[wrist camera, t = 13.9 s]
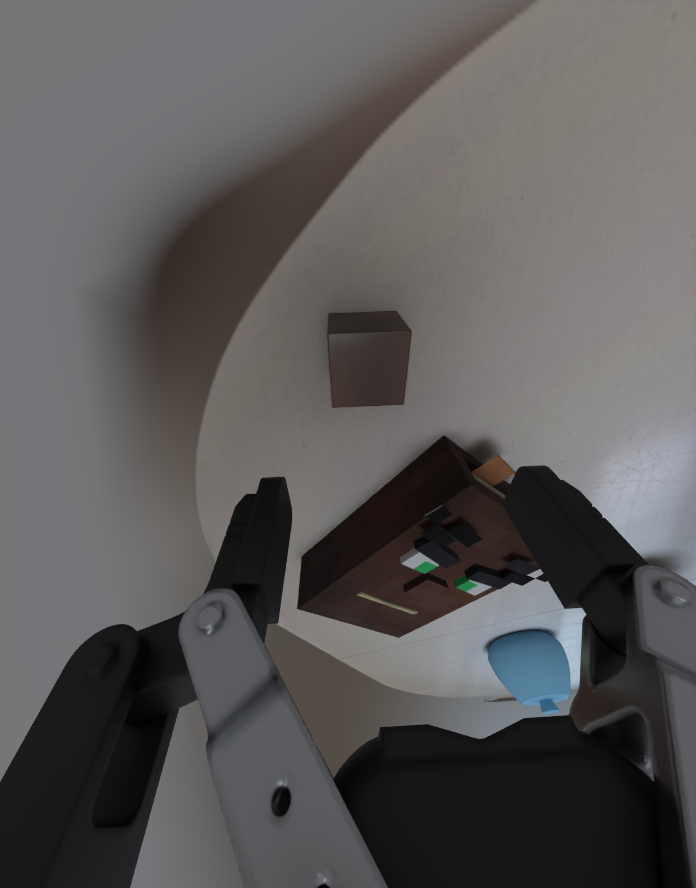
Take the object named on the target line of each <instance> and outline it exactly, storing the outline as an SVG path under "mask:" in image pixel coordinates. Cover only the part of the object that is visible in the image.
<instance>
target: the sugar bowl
mask: <svg viewBox="0 0 696 888" xmlns="http://www.w3.org/2000/svg"><path fill="white" fill-rule="evenodd" d="M488 660H489V663H490V665H491V667H492V669H493V671H494V672H495V674H496V676H497V677H498V679H499V680H500V681H501V683H502V684H503V685H504V686H505V687H506V688H507V689H508V691H509V692H510V693H511V694H512V695H513V696H514V697H515V698H516V699H517V700H518V701H519V702H520V703H522V704H523V705H527V706H536V705H541V710H542V713H543V714H554V713H557V712H558V711H559V709H558V708H557V706H556V705H555V704H554V703H556V702H559V701H563V700H565V699H567V698H568V697H569V695H570V668H569V663H568V659H567V656H566V653H565V651H564V649H563V647H562V645H561V643H560V642H559V641H558V640H556V639H555V638H554V637H552V636H550V635H549V634H547V633H545V632H542V631H523V632H517V633H513V634H509V635H506V636H503V637H501V638H499V639H497V640H495V641H494V642H493V643H492V644H491V647H490V650H489V653H488Z"/></svg>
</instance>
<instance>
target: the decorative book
mask: <svg viewBox="0 0 696 888" xmlns="http://www.w3.org/2000/svg"><path fill="white" fill-rule="evenodd" d="M515 473H516V472H515V471H514V470H513V469H512V468H511V467H510V466H509V465H508V464H507V463H506V462H505V461H504V460H503V459H502V458H501V457H500V456H499V455H497V456H495V457H494V458H492V459H491V460H489V461H488V462H486V463H485V464H481V463H480V462H479V461H477V460H476V459H475V458H473V457H472V456H471V455H469V454H468V453H467V452H465V451H464V450H463V449H461V448H460V447H459V446H457V445H456V444H455V443H453V442H452V441H451V440H449V439H448V438H447V437H445V436H443V437H441V438H440V439H439V440H438V441H437V442H436V443H434V444H433V445H432V446H431V447H430V448H429V449H427V450H426V451H425V452H424V453H423V454H422V455H420V456H419V457H418V458H417V459H416V460H415V461H413V462H412V463H411V464H410V465H409V466H408V467H406V468H405V469H404V470H403V471H402V472H400V473H399V474H398V475H397V476H396V477H395V478H393V479H392V480H391V481H390V482H389V483H388V484H386V485H385V486H384V487H383V488H382V489H381V490H379V491H378V492H377V493H376V494H375V495H374V496H372V497H371V498H370V499H369V500H368V501H367V502H365V503H364V504H363V505H362V506H361V507H360V508H358V509H357V510H356V511H355V512H354V513H353V514H351V515H350V516H349V517H348V518H347V519H345V520H344V521H343V522H342V523H341V524H340V525H338V526H337V527H336V528H335V529H334V530H333V531H331V532H330V533H329V534H328V535H327V536H326V537H324V538H323V539H322V540H321V541H320V542H319V543H317V544H316V545H315V546H314V547H313V548H312V549H310V550H309V551H308V552H307V553H306V554H305V555H303V556H302V561H301V572H300V584H299V595H298V606H297V609H299V610H303V611H306V612H310V613H314V614H317V615H321V616H324V617H328V618H331V619H335V620H338V621H342V622H345V623H349V624H352V625H356V626H359V627H363V628H367V629H370V630H374V631H377V632H381V633H384V634H388V635H391V636H395V637H398V638H399V637H401V636H403V635H405V634H407V633H409V632H411V631H413V630H415V629H417V628H420V627H422V626H424V625H426V624H428V623H430V622H432V621H434V620H436V619H438V618H440V617H442V616H444V615H446V614H448V613H450V612H452V611H454V610H456V609H458V608H461V607H463V606H465V605H467V604H469V603H471V602H473V601H475V600H477V599H479V598H481V597H483V596H485V595H487V594H489V593H491V592H493V591H495V590H497V589H501V588H503V587H505V586H507V585H508V584H510V583H512V582H513V583H516V584H519V585H522V586H523V585H525V584H526V583H528V582H530V581H532V580H533V579H538V580H541V581H544V582H546V581H548V580H547V578H546V577H545V575H544V574H542V575H541V576H539V577H537V578H532V577H530V576H527V575H528V574H530V573H532V572H534V571H536V570H538V569H540V567H539V565H538V564H537V562H536V560H535V559H534V557H533V555H532V554H531V552H530V551H529V549H528V547H527V546H526V544H525V542H524V541H523V539H522V537H521V536H520V534H519V532H518V531H517V529H516V528H515V526H514V524H513V523H512V521H511V519H510V518H509V516H508V514H507V512H506V509H505V503H504V501H505V496H506V494H507V491H508V489H509V487H510V484H508V483H507V482H506V481H504V480H505V479H506V478H508V477H510V476H511V475H513V474H515Z"/></svg>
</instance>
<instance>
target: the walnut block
mask: <svg viewBox="0 0 696 888" xmlns="http://www.w3.org/2000/svg"><path fill="white" fill-rule="evenodd" d="M411 333H412V331H411V329H410V328H409V327H408V325H407V324H406V323H405V322H404V320H403V319H402V318H401V316H400V315H399V314H398V313H397V311H386V312H357V313H329V314H328V332H327V336H328V352H329V367H330V383H331V398H332V407H333V408H335V407H359V406H382V405H403V404H404V398H405V389H406V380H407V370H408V361H409V352H410V343H411Z"/></svg>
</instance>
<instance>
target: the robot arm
mask: <svg viewBox="0 0 696 888" xmlns="http://www.w3.org/2000/svg"><path fill="white" fill-rule="evenodd" d="M504 503H505V509H506V512H507V514H508V516H509V518H510V519H511V521H512V523H513V524H514V526H515V528H516V529H517V531H518V532H519V534H520V536H521V537H522V539H523V541H524V542H525V544H526V546H527V547H528V549H529V551H530V552H531V554H532V555H533V557H534V559H535V560H536V562H537V564H538V565H539V567H540V569H541V570H542V572H543V574H544V575H545V577H546V578H547V580H548V582H549V583H550V585H551V587H552V588H553V590H554V592H555V593H556V595H557V597H558V598H559V600H560V601H561V603H562V605H563V606H564V608H565V609H568V608H583V610H584V611H585V613H586V614H587V615H586V616H585V617H584V619H583V623H582V645H581V667H580V684H579V689H578V692H577V695H576V696H575V698H574V700H573V702H572V705H571V708H570V712H569V715H566V716H552V717H551V716H550V717H536V718H524V719H522V720H520V721H518V722H516V723H514V724H512V725H510V726H508V727H506V728H504V729H502V730H500V731H498V732H496V733H494V734H492V735H490V736H488V737H486V738H483V739H477V738H472V737H469V736H466V735H462V734H459V733H456V732H452V731H449V730H445V729H441V728H438V727H435V726H431V725H428V724H425V725H409V726H394V727H380V730H379V735H378V737H376V738H374V739H372V740H370V741H368V742H367V743H365V744H364V745H362V746H361V747H360V748H358V749H357V750H356V751H355V752H354V753H353V754H352V755H351V756H350V757H349V758H348V759H347V760H346V762H345V763H344V764H343V765H342V767H341V768H340V769H339V771H338V772H337V774H336V776H335V777H334V778H333V776H332V774H331V772H330V770H329V768H328V766H327V765H326V763H325V761H324V759H323V757H322V755H321V753H320V751H319V749H318V747H317V745H316V743H315V741H314V739H313V738H312V735H311V734H310V731H309V730H308V728H307V726H306V724H305V722H304V720H303V718H302V716H301V714H300V712H299V710H298V708H297V706H296V705H295V703H294V701H293V699H292V697H291V695H290V693H289V691H288V689H287V687H286V685H285V683H284V681H283V679H282V677H281V675H280V674H279V671H278V670H277V668H276V666H275V664H274V662H273V660H272V658H271V656H270V654H269V652H268V650H267V648H266V646H265V644H264V641H265V636H266V630H267V624H277V623H278V620H279V613H280V606H281V598H282V591H283V584H284V577H285V569H286V562H287V555H288V548H289V540H290V533H291V526H292V507H291V502H290V497H289V493H288V488H287V483H286V479H285V477H269V478H262V479H261V480H260V483H259V486H258V490H257V493H256V494H246V495H245V496H244V497H243V498H242V499H241V501H240V502H239V503H238V504H237V505H236V507H235V509H234V512H233V515H232V518H231V521H230V524H229V526H228V529H227V532H226V536H225V538H224V541H223V543H222V546H221V549H220V552H219V555H218V558H217V561H216V564H215V567H214V570H213V572H212V575H211V578H210V581H209V583H208V586H207V588H206V590H205V591H204V593H203V594H202V595H201V596H200V597H198V598H197V599H196V600H195V601H194V602H193V603H192V604H191V605H190V606H189V607H188V609H187V610H186V611H185V612H183V613H181V614H179V615H177V616H175V617H173V618H170V619H168V620H165V621H163V622H160V623H158V624H155V625H152V626H150V627H147V628H145V629H142V630H139V631H136V630H135V629H134V628H133V627H131V626H129V625H125V624H119V625H113V626H110V627H107V628H105V629H103V630H101V631H99V632H97V633H96V634H94V635H93V636H91V637H90V638H89V639H88V640H86V641H85V642H84V643H83V644H82V645H81V646H80V647H79V648H78V649H77V650H76V651H75V652H74V654H73V655H72V656H71V658H70V659H69V661H68V662H67V664H66V666H65V667H64V669H63V671H62V673H61V674H60V676H59V678H58V680H57V682H56V683H55V685H54V687H53V689H52V691H51V693H50V694H49V696H48V698H47V699H46V701H45V703H44V705H43V707H42V709H41V710H40V712H39V714H38V716H37V717H36V719H35V721H34V723H33V724H32V726H31V728H30V730H29V732H28V734H27V735H26V737H25V739H24V741H23V743H22V744H21V746H20V748H19V750H18V751H17V753H16V755H15V757H14V758H13V760H12V762H11V764H10V766H9V767H8V769H7V771H6V773H5V774H4V776H3V778H2V780H1V782H0V888H130V885H131V882H132V878H133V874H134V871H135V867H136V864H137V860H138V856H139V853H140V849H141V846H142V842H143V838H144V835H145V831H146V827H147V824H148V820H149V816H150V813H151V809H152V805H153V802H154V798H155V795H156V791H157V787H158V784H159V780H160V776H161V772H162V769H163V765H164V762H165V758H166V754H167V750H168V747H169V743H170V740H171V736H172V732H173V729H174V725H175V722H176V718H177V714H178V711H179V708H181V707H182V706H185V705H187V704H189V703H191V702H193V701H195V700H198V701H199V704H200V707H201V711H202V714H203V717H204V720H205V724H206V728H207V732H208V741H207V746H206V748H207V750H206V751H207V758H208V763H209V767H210V771H211V775H212V778H213V782H214V785H215V789H216V792H217V796H218V799H219V803H220V806H221V809H222V813H223V816H224V820H225V823H226V826H227V830H228V833H229V837H230V840H231V843H232V847H233V850H234V854H235V857H236V861H237V864H238V867H239V871H240V875H241V878H242V881H243V885H244V888H696V587H695V586H694V585H693V584H692V583H690V582H689V581H688V580H686V579H685V578H683V577H681V576H680V575H678V574H676V573H674V572H672V571H670V570H667V569H664V568H662V567H658V566H652V565H649V564H648V563H647V562H646V561H645V560H644V559H643V558H642V557H641V556H640V555H639V554H638V553H637V552H636V551H635V550H634V548H633V547H632V546H631V545H630V544H629V543H628V542H627V541H626V540H625V539H624V538H623V537H622V536H621V535H620V534H619V532H618V531H617V530H616V529H615V528H614V527H613V526H612V525H611V524H610V523H609V522H608V521H607V520H606V519H605V518H603V517H602V514H601V513H600V512H599V511H598V510H597V509H596V508H595V507H592V504H591V503H590V501H589V500H588V499H587V498H586V497H585V496H584V495H583V494H582V493H581V492H580V491H579V490H577V489H576V488H574V487H573V486H571V485H570V484H568V483H567V482H565V481H564V480H560V479H559V478H558V477H557V476H556V474H555V473H554V472H553V471H552V470H551V469H550V468H549V467H547V466H544V465H543V466H523V467H520V468H518V470H517V471H516V474H515V476H514V478H513V480H512V483H511V485H510V487H509V489H508V491H507V494H506V496H505V501H504Z"/></svg>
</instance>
